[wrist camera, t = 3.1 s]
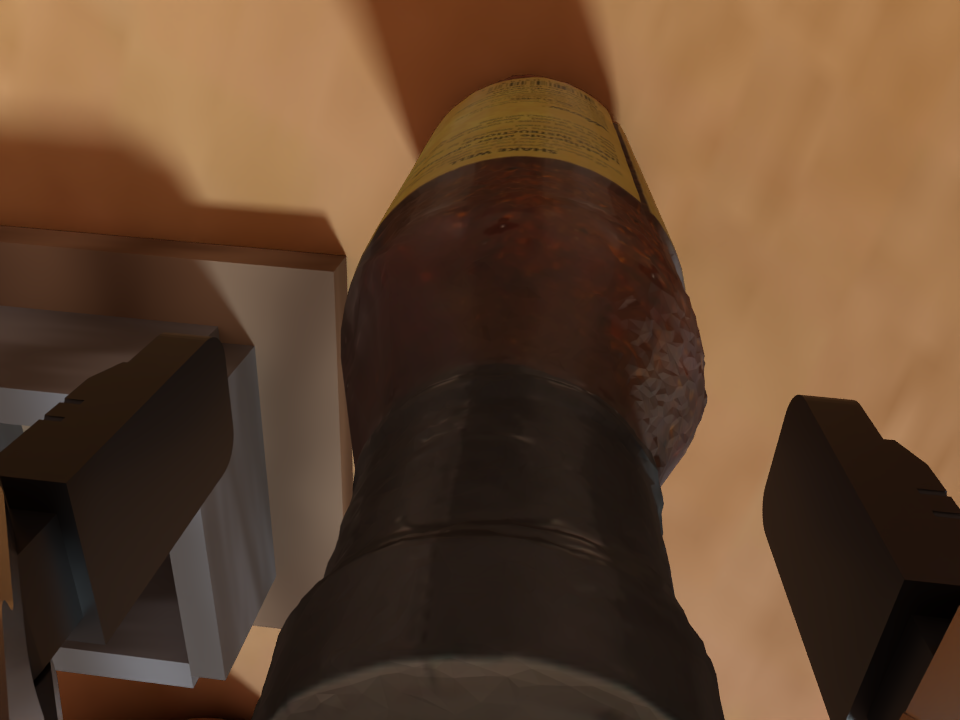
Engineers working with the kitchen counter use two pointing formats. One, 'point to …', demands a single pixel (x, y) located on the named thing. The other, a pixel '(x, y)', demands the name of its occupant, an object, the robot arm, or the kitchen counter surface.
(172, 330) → the grey open box
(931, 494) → the robot arm
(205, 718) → the bread roll
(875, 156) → the kitchen counter surface
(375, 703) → the sauce bottle
